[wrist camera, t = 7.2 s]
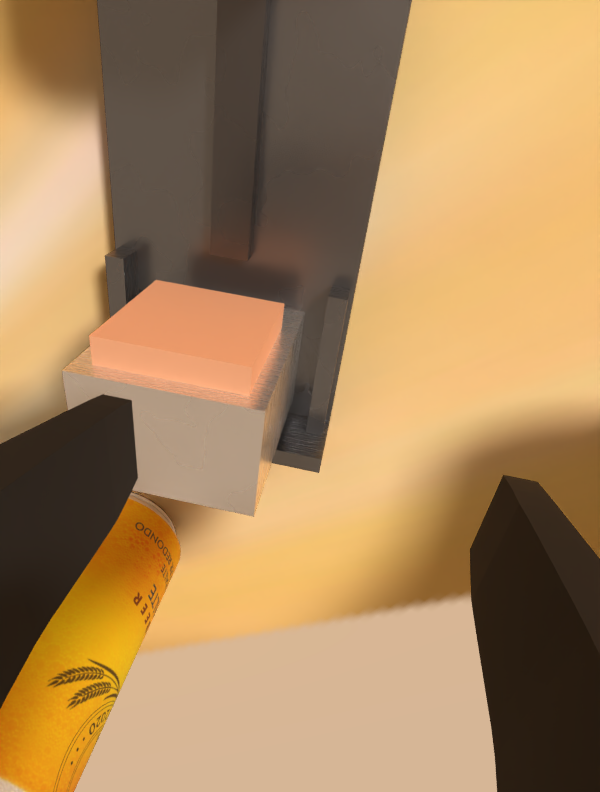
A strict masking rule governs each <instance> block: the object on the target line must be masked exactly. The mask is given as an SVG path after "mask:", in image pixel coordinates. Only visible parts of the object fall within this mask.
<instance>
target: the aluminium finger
mask: <svg viewBox="0 0 600 792" xmlns="http://www.w3.org/2000/svg"><path fill="white" fill-rule="evenodd" d="M304 316H305V312H303V311H298V310H292V309H287V308H284V303H279V302H273V301H268V300H263V299H257V298H252V297H246V296H241V295H236V294H230V293H225V292H219V291H214V290H209V289H203V288H198V287H192V286H187V285H182V284H176V283H171V282H165V281H160V280H155V281H154V282H153V283H152V284H151V285H149V286H148V287H147V288H146V289H145V290H143V291H142V292H141V293H140V294H138V295H137V296H136V297H135V298H134V299H132V300H131V301H130V302H129V303H128V304H126V305H125V306H124V307H123V308H122V309H120V310H119V311H118V312H117V313H116V314H114V315H113V316H112V317H111V318H110V319H108V320H107V321H106V322H105V323H104V324H102V325H101V326H100V327H99V328H98V329H96V330H95V331H94V332H93V333H92V334H90V335H89V340H90V347H88V348H87V349H86V350H85V351H84V352H83V353H81V354H80V355H79V356H78V357H77V358H76V359H75V360H73V361H72V362H71V363H70V364H69V365H68V366H66V367H65V368H64V369H63V370H62V375H63V381H64V388H65V394H66V401H67V408H68V410H70V409H72V408H74V407H76V406H78V405H80V404H82V403H84V402H86V401H88V400H90V399H93V398H95V397H97V396H100V395H102V394H104V395H109V396H114V397H119V398H124V399H129V400H132V410H133V422H134V435H135V447H136V460H137V473H138V479H137V481H136V483H135V485H134V487H133V489H132V490H133V491H137V492H142V493H147V494H151V495H156V496H161V497H165V498H170V499H174V500H179V501H184V502H188V503H193V504H198V505H202V506H207V507H212V508H216V509H221V510H225V511H230V512H235V513H239V514H244V515H249V516H253V517H254V515H255V512H256V509H257V506H258V503H259V500H260V497H261V494H262V491H263V488H264V485H265V481H266V478H267V475H268V472H269V469H270V466H271V463H272V460H273V457H274V454H275V451H276V448H277V445H278V442H279V439H280V436H281V433H282V430H283V427H284V424H285V421H286V418H287V415H288V412H289V409H290V406H291V403H292V400H293V394H294V387H295V380H296V373H297V366H298V359H299V352H300V345H301V338H302V331H303V323H304Z"/></svg>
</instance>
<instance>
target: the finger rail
mask: <svg viewBox="0 0 600 792" xmlns="http://www.w3.org/2000/svg"><path fill="white" fill-rule="evenodd" d="M411 2H412V0H97V5H98V19H99V32H100V46H101V59H102V73H103V86H104V100H105V113H106V127H107V140H108V154H109V167H110V181H111V194H112V208H113V221H114V235H115V248H116V249H115V250H114V251H112V252H110V253H109V254H107V255H105V262H106V274H107V285H108V297H109V308H110V318H111V317H112V316H113V315H114V314H116V313H117V312H118V311H119V310H120V309H122V308H123V307H124V306H125V305H126V304H128V303H129V302H130V301H131V300H132V299H134V298H135V297H136V296H137V295H138V294H140V293H141V292H142V291H143V290H145V289H146V288H147V287H148V286H149V285H151V284H152V283H153V282H154V281H155V280H160V281H165V282H171V283H176V284H182V285H187V286H192V287H198V288H203V289H209V290H214V291H219V292H225V293H230V294H236V295H241V296H246V297H252V298H257V299H263V300H268V301H273V302H279V303H284V308H287V309H292V310H298V311H303V312H305V316H304V323H303V331H302V338H301V345H300V352H299V359H298V366H297V373H296V380H295V387H294V394H293V400H292V403H291V406H290V409H289V412H288V415H287V418H286V421H285V424H284V427H283V430H282V433H281V436H280V439H279V442H278V445H277V448H276V451H275V454H274V457H273V460H272V463H275V464H279V465H284V466H289V467H294V468H299V469H303V470H308V471H313V472H318V473H319V470H320V465H321V460H322V456H323V451H324V446H325V441H326V436H327V431H328V426H329V421H330V416H331V411H332V406H333V401H334V396H335V390H336V385H337V380H338V375H339V370H340V365H341V360H342V355H343V350H344V344H345V339H346V334H347V329H348V324H349V319H350V314H351V309H352V304H353V298H354V293H355V288H356V283H357V278H358V273H359V268H360V263H361V258H362V253H363V247H364V242H365V237H366V232H367V227H368V222H369V217H370V212H371V207H372V201H373V196H374V191H375V186H376V181H377V176H378V171H379V166H380V161H381V155H382V150H383V145H384V140H385V135H386V130H387V125H388V120H389V115H390V110H391V104H392V99H393V94H394V89H395V84H396V79H397V74H398V69H399V64H400V58H401V53H402V48H403V43H404V38H405V33H406V28H407V23H408V18H409V12H410V7H411Z"/></svg>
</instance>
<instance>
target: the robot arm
mask: <svg viewBox="0 0 600 792" xmlns="http://www.w3.org/2000/svg"><path fill="white" fill-rule="evenodd" d="M137 479H138V473H137V460H136V447H135V435H134V422H133V410H132V400H129V399H124V398H119V397H114V396H109V395H104V394H102V395H100V396H97V397H95V398H93V399H90V400H88V401H86V402H84V403H82V404H80V405H78V406H76V407H74V408H72V409H70V410H68V411H66V412H64V413H62V414H60V415H58V416H56V417H54V418H52V419H50V420H48V421H46V422H44V423H42V424H40V425H38V426H36V427H34V428H32V429H30V430H28V431H26V432H24V433H22V434H20V435H18V436H16V437H14V438H12V439H10V440H8V441H6V442H4V443H2V444H0V709H1V707H2V705H3V703H4V701H5V699H6V697H7V695H8V694H9V692H10V690H11V688H12V686H13V684H14V683H15V681H16V679H17V677H18V675H19V673H20V672H21V670H22V668H23V666H24V664H25V662H26V661H27V659H28V657H29V655H30V653H31V651H32V650H33V648H34V646H35V644H36V642H37V641H38V639H39V638H40V636H41V634H42V633H43V631H44V630H45V628H46V626H47V625H48V623H49V622H50V620H51V618H52V617H53V615H54V614H55V613H56V611H57V610H58V608H59V607H60V605H61V604H62V602H63V601H64V599H65V598H66V596H67V595H68V593H69V592H70V590H71V589H72V587H73V586H74V584H75V583H76V581H77V580H78V579H79V577H80V576H81V574H82V573H83V571H84V570H85V568H86V567H87V565H88V564H89V562H90V561H91V559H92V558H93V556H94V555H95V553H96V552H97V550H98V549H99V547H100V546H101V544H102V543H103V541H104V540H105V538H106V537H107V535H108V534H109V532H110V531H111V529H112V528H113V526H114V525H115V523H116V521H117V520H118V518H119V516H120V514H121V512H122V510H123V508H124V506H125V504H126V502H127V500H128V498H129V496H130V494H131V492H132V489H133V487H134V485H135V483H136V481H137ZM470 573H471V600H472V607H473V615H474V621H475V628H476V634H477V641H478V646H479V653H480V659H481V666H482V672H483V678H484V684H485V691H486V696H487V703H488V709H489V715H490V722H491V728H492V736H493V744H494V753H495V764H496V779H497V792H600V559H599V557H598V556H597V555H596V554H595V552H594V551H593V550H592V549H591V548H590V546H589V545H588V544H587V543H586V541H585V540H584V539H583V538H582V536H581V535H580V534H579V533H578V531H577V530H576V529H575V528H574V526H573V525H572V524H571V523H570V521H569V520H568V519H567V518H566V516H565V515H564V514H563V512H562V511H561V510H560V509H559V507H558V506H557V505H556V504H555V502H554V501H553V500H552V499H551V498H550V496H549V495H548V494H547V493H546V491H545V490H544V489H543V488H542V487H541V486H540V484H539V483H538V482H535V481H530V480H526V479H521V478H516V477H511V476H506V475H503V477H502V479H501V482H500V484H499V486H498V488H497V491H496V493H495V495H494V497H493V500H492V502H491V504H490V506H489V508H488V511H487V513H486V515H485V517H484V520H483V522H482V524H481V526H480V529H479V531H478V533H477V535H476V538H475V540H474V542H473V544H472V546H471V549H470Z"/></svg>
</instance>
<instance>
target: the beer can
mask: <svg viewBox="0 0 600 792" xmlns="http://www.w3.org/2000/svg"><path fill="white" fill-rule="evenodd" d="M180 553H181V550H180V544H179V541H178V538H177V536H176V531H175V528H174V525H173V523H172V521H171V520H170V518H169V517H168V516H167V514H166V513H165V512H164V511H163V510H162V509H161V508H160V507H158V506H157V505H156V504H155V503H153V502H152V501H150V500H148V499H146V498H145V497H142V496H140V495H138V494H135V493H132V492H131V494H130V496H129V498H128V500H127V502H126V504H125V506H124V508H123V510H122V512H121V514H120V516H119V518H118V520H117V521H116V523H115V525H114V526H113V528H112V529H111V531H110V532H109V534H108V535H107V537H106V538H105V540H104V541H103V543H102V544H101V546H100V547H99V549H98V550H97V552H96V553H95V555H94V556H93V558H92V559H91V561H90V562H89V564H88V565H87V567H86V568H85V570H84V571H83V573H82V574H81V576H80V577H79V579H78V580H77V581H76V583H75V584H74V586H73V587H72V589H71V590H70V592H69V593H68V595H67V596H66V598H65V599H64V601H63V602H62V604H61V605H60V607H59V608H58V610H57V611H56V613H55V614H54V615H53V617H52V618H51V620H50V622H49V623H48V625H47V626H46V628H45V630H44V631H43V633H42V634H41V636H40V638H39V639H38V641H37V642H36V644H35V646H34V648H33V650H32V651H31V653H30V655H29V657H28V659H27V661H26V662H25V664H24V666H23V668H22V670H21V672H20V673H19V675H18V677H17V679H16V681H15V683H14V684H13V686H12V688H11V690H10V692H9V694H8V695H7V697H6V699H5V701H4V703H3V705H2V707H1V709H0V792H74V790H75V788H76V786H77V784H78V781H79V779H80V777H81V775H82V773H83V770H84V768H85V766H86V764H87V762H88V760H89V757H90V755H91V753H92V751H93V749H94V746H95V744H96V742H97V740H98V737H99V735H100V733H101V731H102V729H103V727H104V724H105V722H106V720H107V718H108V716H109V713H110V711H111V709H112V707H113V705H114V702H115V700H116V698H117V696H118V694H119V692H120V689H121V687H122V685H123V683H124V681H125V678H126V676H127V674H128V672H129V670H130V667H131V665H132V663H133V661H134V659H135V656H136V654H137V652H138V650H139V648H140V645H141V643H142V641H143V639H144V637H145V635H146V632H147V630H148V628H149V626H150V624H151V621H152V619H153V617H154V615H155V613H156V610H157V608H158V606H159V604H160V602H161V599H162V597H163V595H164V593H165V591H166V588H167V586H168V584H169V582H170V580H171V577H172V575H173V573H174V571H175V569H176V566H177V564H178V562H179V560H180Z"/></svg>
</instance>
